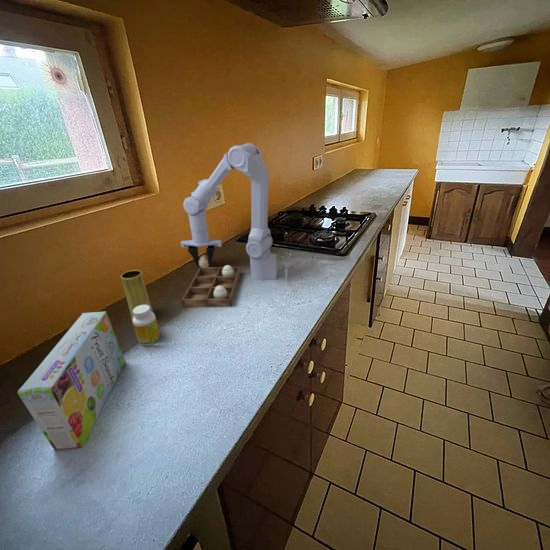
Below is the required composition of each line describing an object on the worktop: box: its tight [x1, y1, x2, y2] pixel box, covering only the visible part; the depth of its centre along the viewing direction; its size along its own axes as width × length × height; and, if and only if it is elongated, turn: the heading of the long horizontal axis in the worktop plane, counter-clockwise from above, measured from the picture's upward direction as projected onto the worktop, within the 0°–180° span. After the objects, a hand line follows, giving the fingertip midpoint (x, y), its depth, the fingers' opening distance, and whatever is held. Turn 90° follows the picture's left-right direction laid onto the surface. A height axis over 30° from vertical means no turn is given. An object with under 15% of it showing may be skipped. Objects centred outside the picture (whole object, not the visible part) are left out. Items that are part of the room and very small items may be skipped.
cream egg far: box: [222, 264, 234, 276], centre depth 105 cm, size 4×4×5 cm
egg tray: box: [181, 266, 242, 308], centre depth 100 cm, size 15×22×3 cm
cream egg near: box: [213, 285, 227, 299], centre depth 93 cm, size 4×4×5 cm
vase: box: [120, 269, 154, 322], centre depth 85 cm, size 6×6×14 cm
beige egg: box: [198, 254, 210, 267], centre depth 113 cm, size 4×4×5 cm
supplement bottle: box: [132, 305, 161, 347], centre depth 77 cm, size 5×5×10 cm
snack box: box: [17, 310, 126, 451], centre depth 59 cm, size 21×6×15 cm, turn 5°
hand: (204, 264), depth 114 cm, fingers closed on beige egg, 4 cm apart
